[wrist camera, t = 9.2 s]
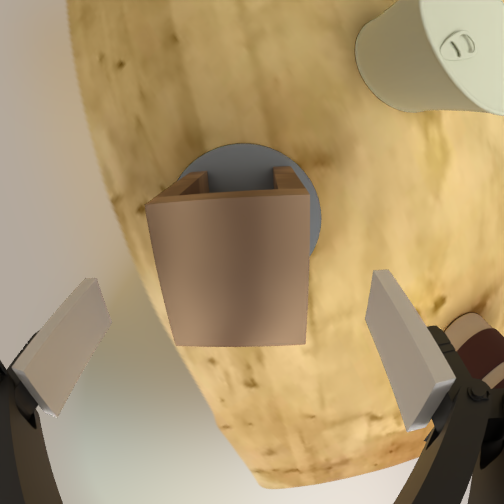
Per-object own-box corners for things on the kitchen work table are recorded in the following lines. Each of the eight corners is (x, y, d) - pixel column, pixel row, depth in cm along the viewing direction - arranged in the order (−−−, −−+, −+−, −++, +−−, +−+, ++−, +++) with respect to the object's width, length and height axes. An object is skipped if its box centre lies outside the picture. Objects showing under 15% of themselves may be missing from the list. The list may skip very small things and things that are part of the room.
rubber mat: (161, 151, 23) (158, 152, 22) (319, 141, 22) (320, 141, 22) (181, 288, 28) (180, 291, 28) (317, 283, 27) (318, 286, 27)
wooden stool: (202, 271, 27) (175, 345, 18) (190, 172, 23) (144, 204, 14) (292, 268, 26) (305, 344, 17) (290, 166, 23) (309, 194, 13)
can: (332, 36, 18) (387, -24, 7) (410, 6, 16) (485, -38, 5) (390, 129, 21) (480, 142, 10) (459, 91, 19) (552, 93, 8)
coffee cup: (424, 370, 33) (463, 457, 19) (435, 314, 29) (496, 410, 15) (478, 349, 31) (524, 421, 18) (494, 293, 28) (559, 367, 14)
